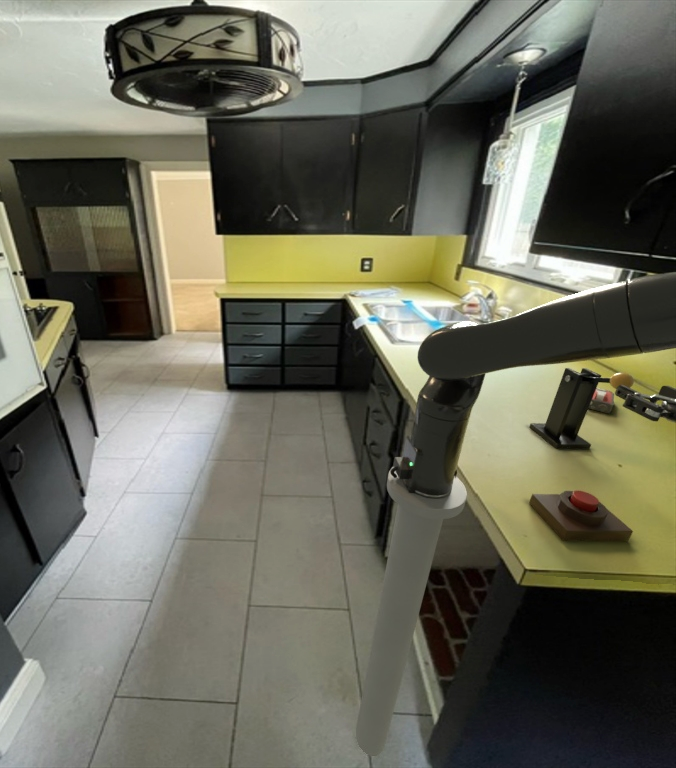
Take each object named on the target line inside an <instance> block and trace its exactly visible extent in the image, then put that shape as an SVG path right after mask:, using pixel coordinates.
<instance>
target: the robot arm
mask: <svg viewBox="0 0 676 768" xmlns="http://www.w3.org/2000/svg"><path fill="white" fill-rule="evenodd" d="M673 349H676V271H673V272H663V273H655V274H649V275H648V274H647V275H643V276H637V277H635V278H630V279H625V280H622V281H618V282H614V283H609V284H606V285H602V286H598V287H595V288H590V289H587V290H584V291H581V292H578V293H575V294H571V295H568V296H565V297H562V298H559V299H556V300H553V301H550V302H548V303H545V304H541V305H540V306H537V307H533V308H532V309H529V310H526V311H524V312H522V313H521V312H520V313H519V314H516V315H513V316H510V317H507V318H503V319H500V320H496V321H490V322H486V323H485V322H484V323H478V324H477V323H475V322H472V321H457V322H452V323H451V324H448V325H445V326H442V327H440V328H438V329H435V330H434V331H432V332H431V333H430V334H428V335H427V336H426V337H425V338H424V340H422V342H421V344H420V346H419V348H418V351H417V362H418V365H419V367H420V369H421V370H422V372H424V373H425V374H426V375H427V376H428V377H427V380H426V382H425V383H424V385H423V386H422V388H421V389H420V390H419V392H418V395H417V400H416V407H415V410H414V411H415V412H414V417H413V421H412V427H411V433H410V435H407V436H406V437H405V440H404V441H405V442H404V448H403V453H402V456H394V459H393V465H392V467H394V468H392V467H391V468H392V469H391V468H390V470H391V471H390V470H389V471H390V473H391V475H392V476H393V477H394V478H396V477H397V475H398V477H399V479H402V480H403V483H404V484H405V486H406V488H407V490H408V492H409V493H415V494H418V495H420V496H423V497H426V498H432V499H440V498H444V497H447V496H448V495H449V494H450V493H451V490H452V484H453V480H454V476H455V479H456V477H457V476H458V475H457V474H458V470H457V469H458V468H457V467H458V464H459V461H460V457H461V452H462V449H463V445H464V441H465V437H466V433H467V430H468V426H469V422H470V418H471V414H472V411H473V408H474V406H475V404H476V402H477V400H478V399H479V396H480V393H481V390H482V387H483V384H484V380H485V376H486V374H490V373H495V372H499V371H503V370H508V369H513V368H514V369H515V368H521V367H522V368H524V367H533V366H546V365H548V366H549V365H559V364H568V363H569V364H570V363H576V362H578V363H579V362H585V361H595V360H597V361H598V360H604V359H605V360H606V359H612V358H619V357H627V356H635V355H643V354H649V353H655V352H656V353H657V352H661V351H666V350H673ZM614 396H616V397H619V398H620V399H622V400H624V402H623V404H622V407H623V408H625V409H627V410H629V411H632V412H634V413H635V414H637V415H639V416H641V417H643V418H645V419H648V420H649V421H652V422H658V421H659V420H660V418H663V419H665V420H667V421H669V422H671V423H675V424H676V388H675V387H672V386H670V385H662V386H661V387H660V390H659V391H658V394H653V395H650V394H645V393H642V392H639V391H637V390H636V389H633V388H632V387H630V388H629V387H627V386H624V385H619V386H618V387H617V389H615V391H614ZM658 401H661V404H660V403H657V402H658ZM395 471H396V473H397V475H396V474H395V473H394V472H395Z"/></svg>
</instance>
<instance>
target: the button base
mask: <svg viewBox="0 0 676 768" xmlns="http://www.w3.org/2000/svg"><path fill="white" fill-rule="evenodd" d="M574 491H575V490H564V491H562V492H561V493H532V494H531V497H530V499H529V502H528V503H529V505H530V506H531V507H532V508H533V509H534V510H535V512H536V513H538V515H540V517H541V518H542V519H543V520H544V521H545V522H546V523H547V525H548V526H550V528H551V529H552V530H553V531H554V532H555V533H556V534H557V535H558V536H559V537H560V539H561V540H562V541H599V542H600V541H607V542H609V541H611V542H615V541H618V542H620V541H621V542H623V541H624V542H625V541H626V542H628V541H629V540H630V538H631V536H632V534H633V533H634V530H633V529H632V528H630V526H628V525H627V524H625V523H624V522H623V521H622V520H621V519H620V518H619V517H617V516H616V515H615V514H614V513H613V512H611V510H609V509H608V508H607V507H606V505H604V504H603V503H601V502H600V501H599V504H598V506H597V508H596V510H595V511H594V512H588V511H584V510H581V509H579V508H577V507H575V506H574V505H573V504H572V503H570V498H571V496H572V494H573V492H574Z"/></svg>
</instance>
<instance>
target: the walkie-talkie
mask: <svg viewBox="0 0 676 768" xmlns="http://www.w3.org/2000/svg"><path fill="white" fill-rule="evenodd" d="M614 399H615V392H612V390H607V389H603V388H599V387H597V388H596V390H595V393H594V395H593V398H592V400H591V403H590V405H589V408H588V409H589V410H592V411H596V412H601V413H604V414H611V411H612V410H613V409H614Z"/></svg>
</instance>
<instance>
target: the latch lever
mask: <svg viewBox="0 0 676 768" xmlns="http://www.w3.org/2000/svg"><path fill="white" fill-rule="evenodd" d="M579 373H580V374H582V373H581V372H579ZM582 375H584V376H583V379H582V381H581V384H590V382H599V383H602V384H609V385H610V386H611V387H612V388H613V389H615V390H616V389H617V387H618V386H619V385H624V386H627V387H629V388H632V387H633V386H634V383H635V379H634V377H633V376H632V374H630V373H627V372H617V373H614V374H613V375H611V377H601V378H598V377H590V374H582Z"/></svg>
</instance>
